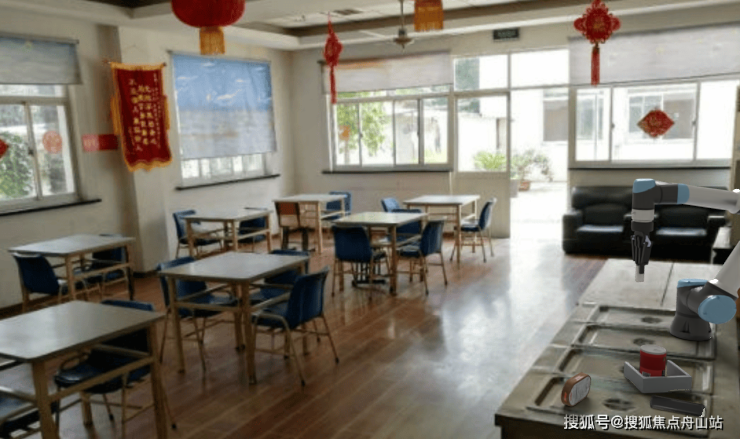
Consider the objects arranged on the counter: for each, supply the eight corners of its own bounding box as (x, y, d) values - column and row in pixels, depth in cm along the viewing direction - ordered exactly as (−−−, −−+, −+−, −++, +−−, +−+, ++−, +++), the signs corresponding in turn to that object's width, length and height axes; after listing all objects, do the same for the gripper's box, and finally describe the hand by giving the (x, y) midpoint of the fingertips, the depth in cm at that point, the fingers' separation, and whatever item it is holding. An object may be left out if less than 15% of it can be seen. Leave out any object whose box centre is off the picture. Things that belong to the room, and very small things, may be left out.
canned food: (667, 384, 197) (669, 353, 196) (641, 383, 199) (643, 352, 197) (661, 375, 205) (662, 344, 203) (636, 373, 206) (637, 343, 205)
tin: (583, 392, 194) (584, 367, 192) (592, 395, 192) (593, 370, 190) (559, 408, 184) (560, 382, 182) (569, 411, 181) (569, 385, 180)
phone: (705, 415, 175) (649, 404, 182) (705, 419, 175) (649, 408, 183) (705, 404, 182) (651, 394, 189) (705, 407, 182) (651, 397, 189)
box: (669, 373, 206) (670, 360, 205) (691, 391, 192) (692, 376, 192) (623, 375, 205) (624, 361, 205) (642, 393, 192) (643, 378, 191)
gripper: (624, 217, 228) (622, 277, 232) (640, 223, 215) (637, 286, 219) (643, 217, 228) (641, 276, 232) (661, 222, 216) (657, 285, 219)
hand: (639, 281), depth 226 cm, fingers closed
